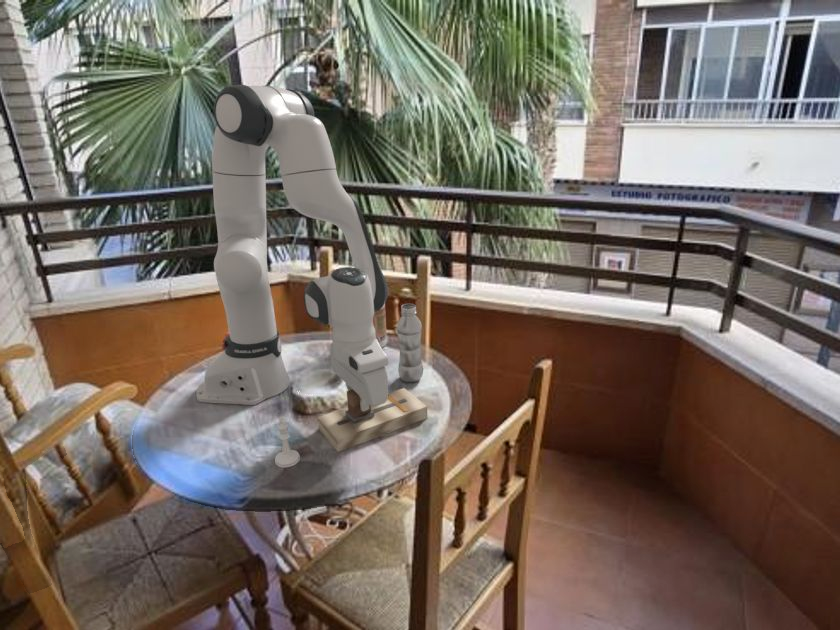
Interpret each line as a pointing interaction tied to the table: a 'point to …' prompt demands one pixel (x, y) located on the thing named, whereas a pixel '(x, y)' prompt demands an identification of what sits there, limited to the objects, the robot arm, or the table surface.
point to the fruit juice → (380, 326)
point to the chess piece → (286, 448)
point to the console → (372, 420)
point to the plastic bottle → (409, 344)
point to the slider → (356, 408)
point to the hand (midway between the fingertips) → (359, 404)
